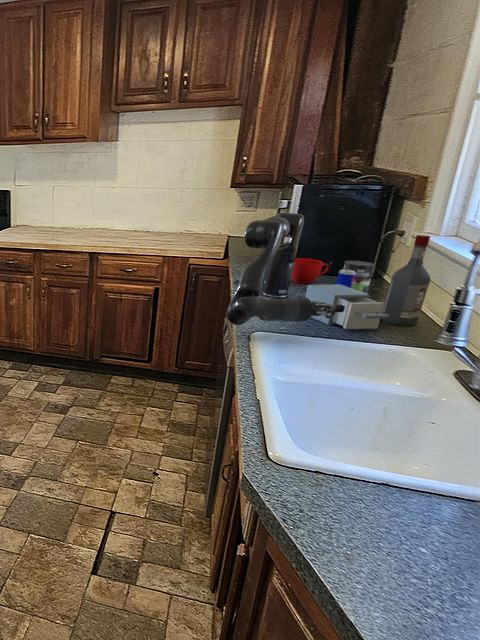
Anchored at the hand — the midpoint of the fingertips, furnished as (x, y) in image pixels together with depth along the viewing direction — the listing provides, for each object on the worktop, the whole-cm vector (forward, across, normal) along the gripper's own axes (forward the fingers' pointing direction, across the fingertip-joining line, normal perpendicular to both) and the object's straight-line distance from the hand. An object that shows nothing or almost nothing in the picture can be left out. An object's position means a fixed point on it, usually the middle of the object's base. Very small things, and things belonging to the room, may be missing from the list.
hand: (342, 308), depth 169 cm
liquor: (+32, +12, +9) cm, 35 cm away
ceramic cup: (+37, +71, +10) cm, 80 cm away
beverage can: (+21, +28, +9) cm, 36 cm away
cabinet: (+11, +18, +9) cm, 23 cm away
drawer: (+11, +7, +8) cm, 15 cm away
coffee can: (+40, +46, +10) cm, 61 cm away
